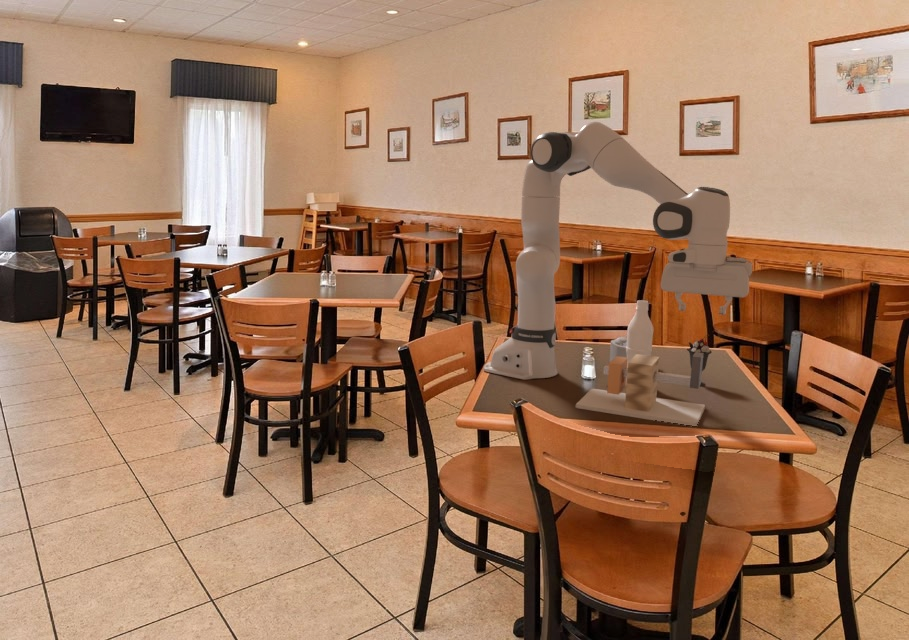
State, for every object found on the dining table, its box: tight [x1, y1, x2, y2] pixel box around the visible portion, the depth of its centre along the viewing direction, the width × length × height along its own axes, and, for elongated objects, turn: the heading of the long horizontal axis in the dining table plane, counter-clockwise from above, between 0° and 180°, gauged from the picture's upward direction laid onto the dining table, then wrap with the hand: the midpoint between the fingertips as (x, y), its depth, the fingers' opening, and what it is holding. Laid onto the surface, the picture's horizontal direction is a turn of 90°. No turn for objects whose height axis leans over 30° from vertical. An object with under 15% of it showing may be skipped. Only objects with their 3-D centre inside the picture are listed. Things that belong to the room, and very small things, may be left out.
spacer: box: [607, 356, 628, 395], centre depth 186 cm, size 3×8×8 cm, turn 154°
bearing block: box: [625, 354, 660, 412], centre depth 183 cm, size 6×10×12 cm, turn 154°
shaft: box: [602, 352, 704, 390], centre depth 181 cm, size 24×5×8 cm, turn 64°
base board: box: [575, 388, 706, 427], centre depth 184 cm, size 30×16×1 cm, turn 64°
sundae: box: [686, 334, 712, 387], centre depth 206 cm, size 7×7×15 cm
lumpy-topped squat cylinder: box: [608, 336, 627, 363], centre depth 226 cm, size 10×13×9 cm
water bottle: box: [626, 299, 654, 385], centre depth 201 cm, size 7×7×25 cm
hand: (702, 312), depth 174 cm, fingers open, 8 cm apart
